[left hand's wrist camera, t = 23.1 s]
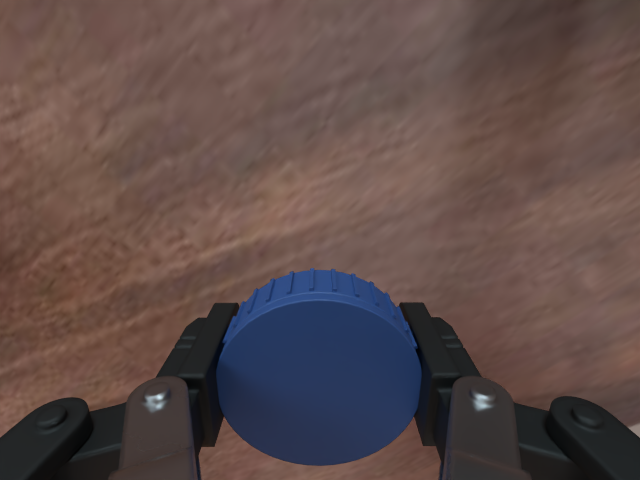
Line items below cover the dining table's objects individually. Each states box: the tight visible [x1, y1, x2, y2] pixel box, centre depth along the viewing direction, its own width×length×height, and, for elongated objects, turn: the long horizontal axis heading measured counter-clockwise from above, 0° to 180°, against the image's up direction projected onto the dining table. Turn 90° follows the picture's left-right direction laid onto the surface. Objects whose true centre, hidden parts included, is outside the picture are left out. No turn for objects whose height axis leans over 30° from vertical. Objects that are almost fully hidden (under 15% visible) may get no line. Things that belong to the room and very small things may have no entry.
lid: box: [216, 268, 422, 466], centre depth 10 cm, size 6×6×2 cm
